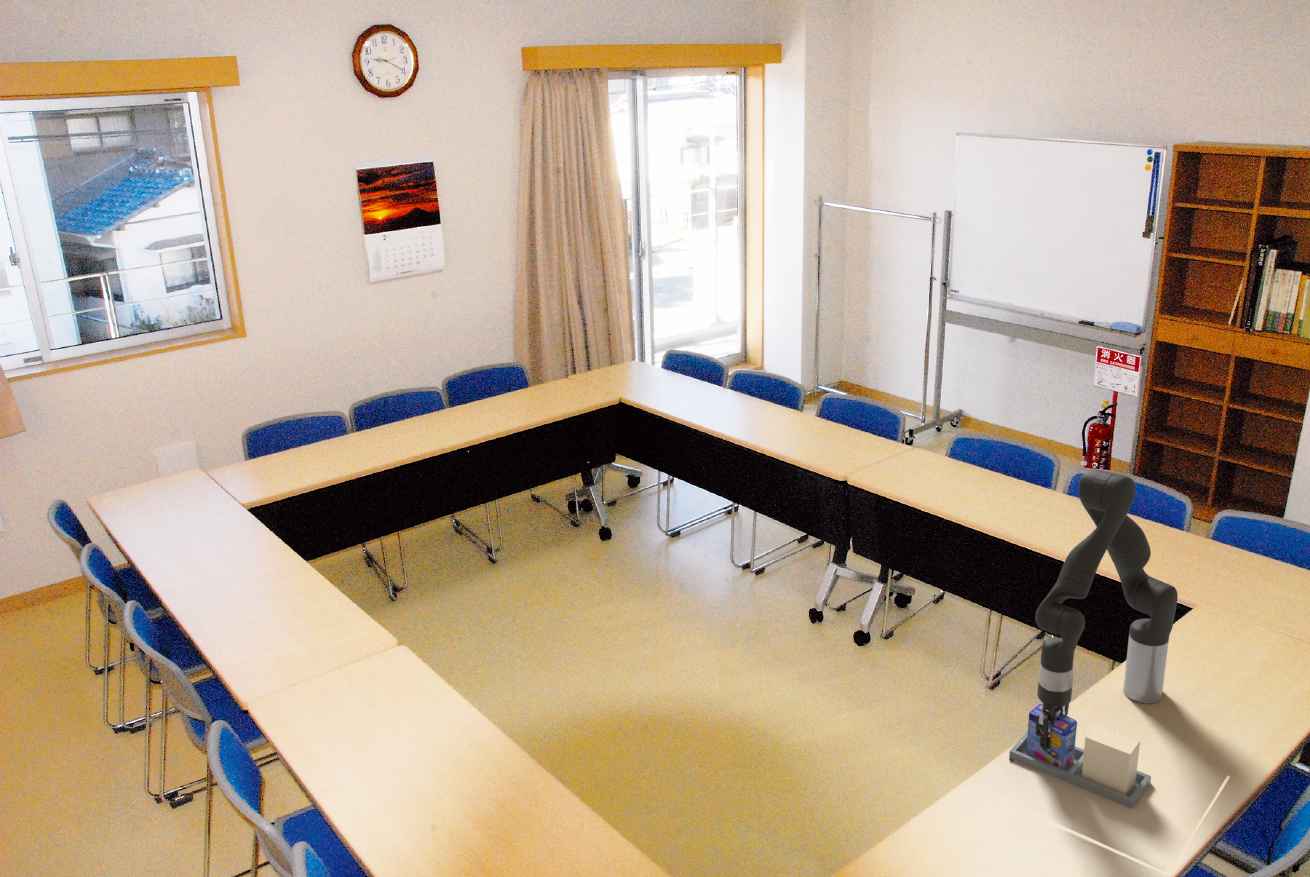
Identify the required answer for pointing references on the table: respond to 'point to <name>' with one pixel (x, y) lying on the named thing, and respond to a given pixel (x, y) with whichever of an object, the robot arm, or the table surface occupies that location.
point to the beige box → (1110, 759)
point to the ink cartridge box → (1053, 740)
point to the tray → (1080, 774)
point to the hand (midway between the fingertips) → (1050, 740)
